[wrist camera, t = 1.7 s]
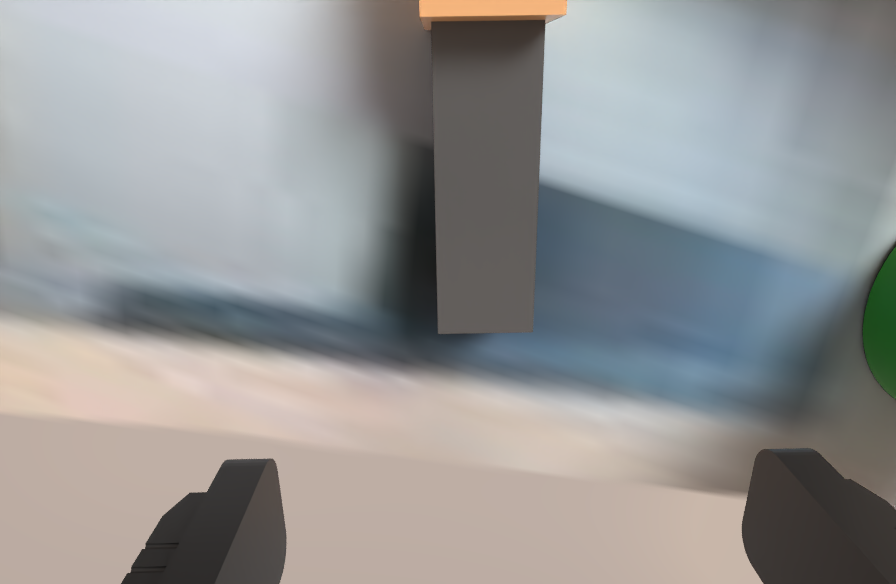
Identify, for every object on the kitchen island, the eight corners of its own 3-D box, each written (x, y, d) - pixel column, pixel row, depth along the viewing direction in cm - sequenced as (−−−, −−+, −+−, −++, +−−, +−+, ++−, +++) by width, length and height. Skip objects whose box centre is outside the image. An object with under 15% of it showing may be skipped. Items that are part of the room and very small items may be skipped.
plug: (525, 292, 22) (548, 353, 17) (431, 294, 22) (429, 355, 17) (541, -162, 17) (579, -249, 12) (419, -160, 17) (412, -247, 12)
